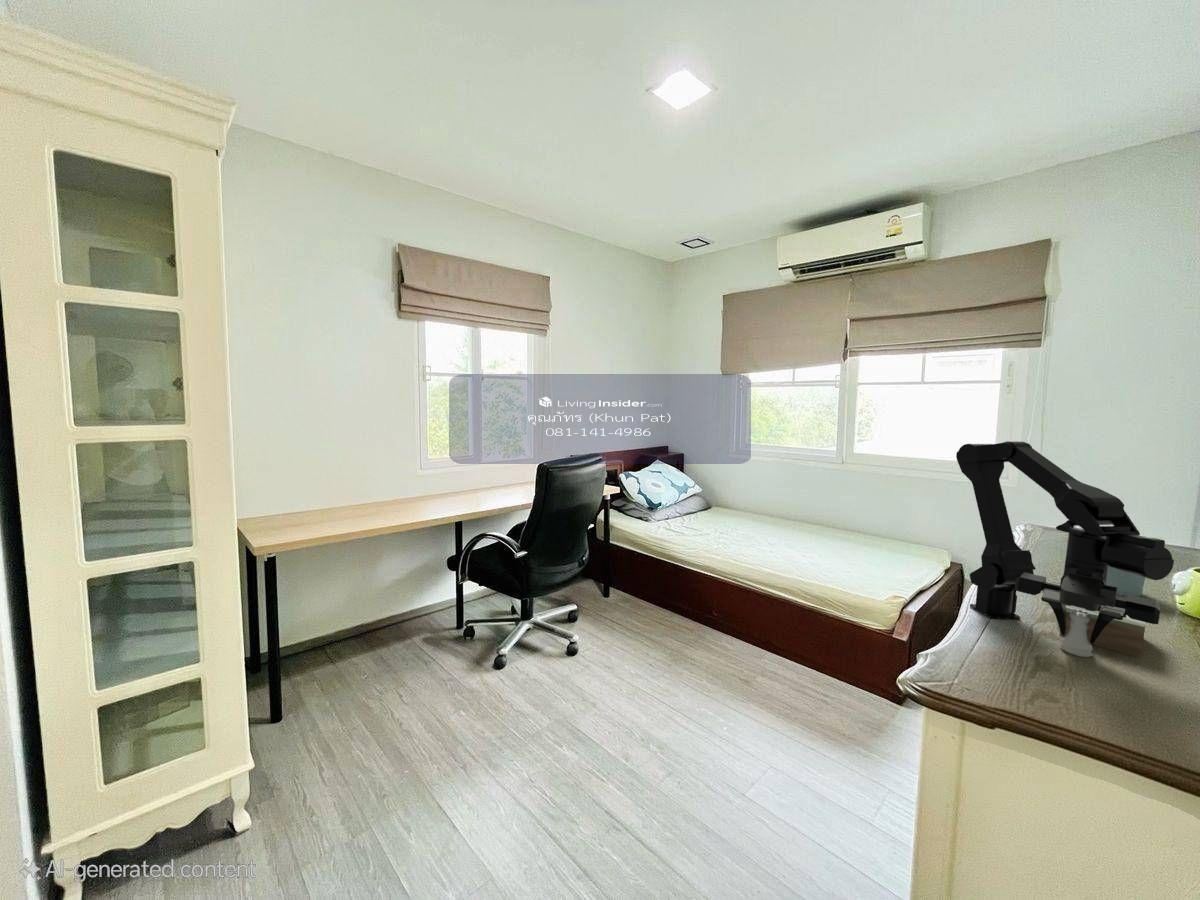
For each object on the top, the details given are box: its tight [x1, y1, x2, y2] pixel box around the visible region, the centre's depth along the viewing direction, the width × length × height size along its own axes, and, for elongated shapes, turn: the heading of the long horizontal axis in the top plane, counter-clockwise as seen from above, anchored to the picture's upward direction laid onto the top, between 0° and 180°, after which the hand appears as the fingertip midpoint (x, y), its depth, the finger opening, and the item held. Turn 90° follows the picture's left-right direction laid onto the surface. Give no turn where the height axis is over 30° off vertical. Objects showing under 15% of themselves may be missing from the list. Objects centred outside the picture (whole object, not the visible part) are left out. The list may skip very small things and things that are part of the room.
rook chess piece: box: [1059, 609, 1094, 658], centre depth 89 cm, size 4×4×8 cm
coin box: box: [1059, 605, 1147, 658], centre depth 95 cm, size 12×11×6 cm
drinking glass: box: [1107, 566, 1146, 597], centre depth 120 cm, size 10×10×12 cm
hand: (1077, 638), depth 89 cm, fingers closed on rook chess piece, 3 cm apart
